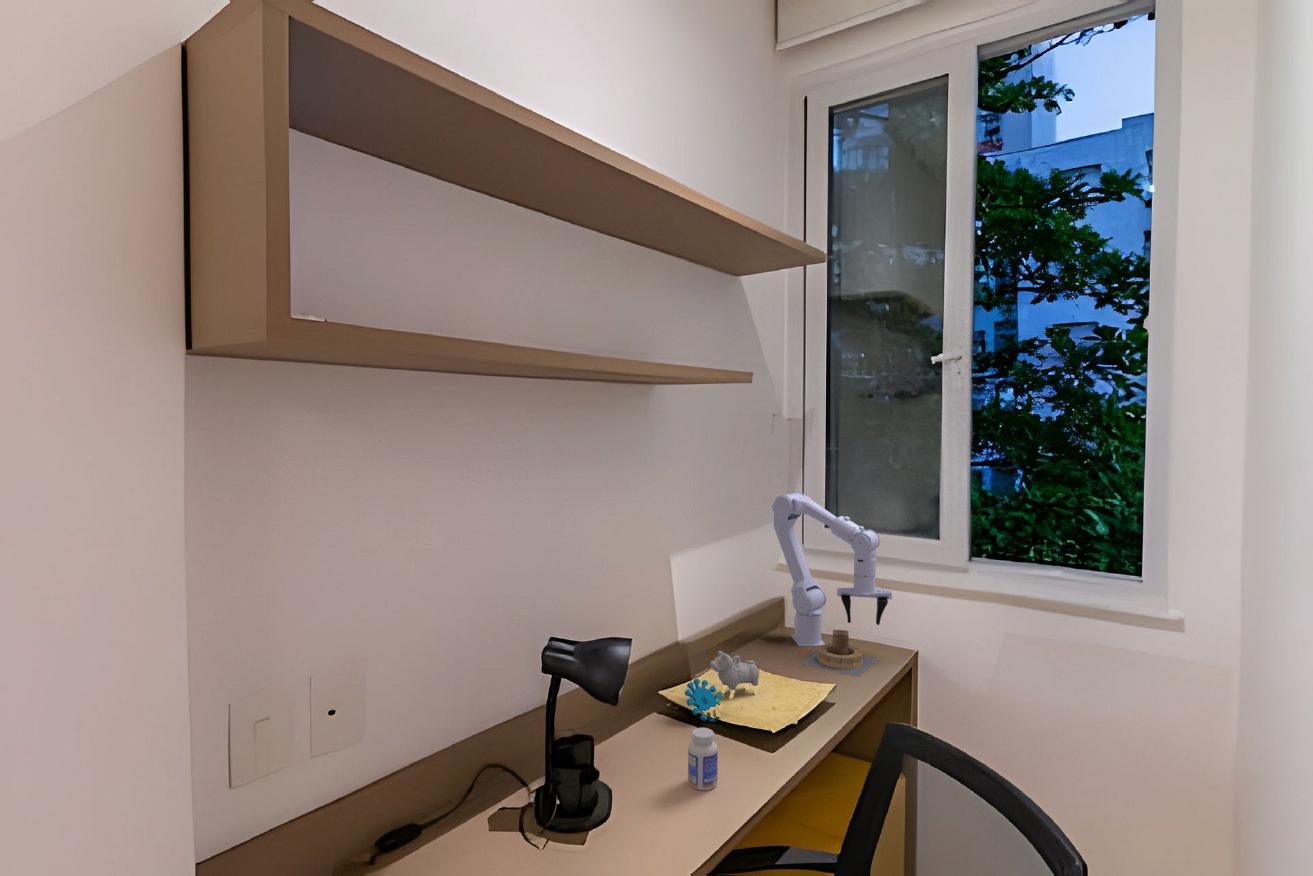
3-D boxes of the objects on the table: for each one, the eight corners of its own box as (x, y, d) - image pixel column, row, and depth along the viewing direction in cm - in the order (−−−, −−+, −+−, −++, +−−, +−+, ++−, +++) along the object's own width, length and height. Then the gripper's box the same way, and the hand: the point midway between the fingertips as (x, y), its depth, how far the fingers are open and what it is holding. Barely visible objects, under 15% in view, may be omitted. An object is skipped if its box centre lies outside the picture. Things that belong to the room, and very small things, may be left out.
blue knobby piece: (698, 722, 157) (681, 679, 163) (684, 734, 160) (667, 691, 166) (735, 716, 164) (717, 674, 170) (720, 728, 167) (703, 687, 173)
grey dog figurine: (705, 694, 177) (705, 650, 176) (750, 686, 182) (751, 644, 181) (715, 702, 172) (716, 658, 171) (762, 694, 177) (762, 650, 177)
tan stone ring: (813, 654, 204) (813, 643, 204) (853, 653, 205) (854, 643, 205) (825, 669, 193) (825, 658, 192) (868, 668, 193) (868, 657, 193)
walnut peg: (832, 663, 197) (833, 634, 197) (832, 658, 201) (832, 629, 201) (847, 664, 196) (848, 635, 196) (847, 659, 200) (847, 630, 200)
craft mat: (822, 648, 210) (822, 647, 210) (878, 660, 201) (878, 658, 201) (800, 665, 196) (800, 663, 196) (859, 678, 188) (859, 676, 188)
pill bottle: (719, 778, 137) (719, 727, 137) (715, 793, 132) (716, 740, 131) (690, 774, 138) (691, 724, 138) (685, 789, 133) (686, 737, 133)
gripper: (838, 576, 201) (837, 625, 201) (893, 579, 198) (892, 629, 198) (837, 570, 207) (836, 617, 208) (890, 573, 205) (889, 621, 205)
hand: (863, 622), depth 204 cm, fingers open, 7 cm apart
